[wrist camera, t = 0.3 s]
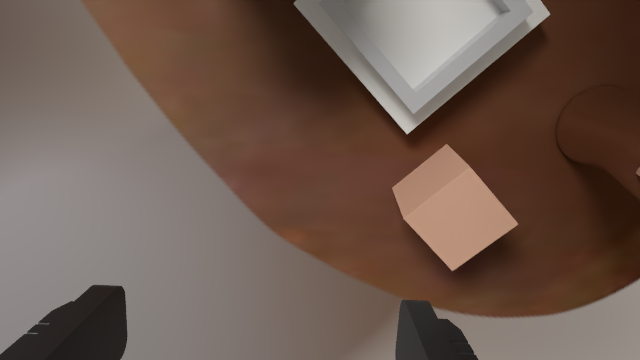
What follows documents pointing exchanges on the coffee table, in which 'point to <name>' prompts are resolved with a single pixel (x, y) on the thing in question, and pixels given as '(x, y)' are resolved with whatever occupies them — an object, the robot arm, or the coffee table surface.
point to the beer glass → (604, 133)
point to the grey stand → (420, 45)
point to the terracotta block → (451, 208)
